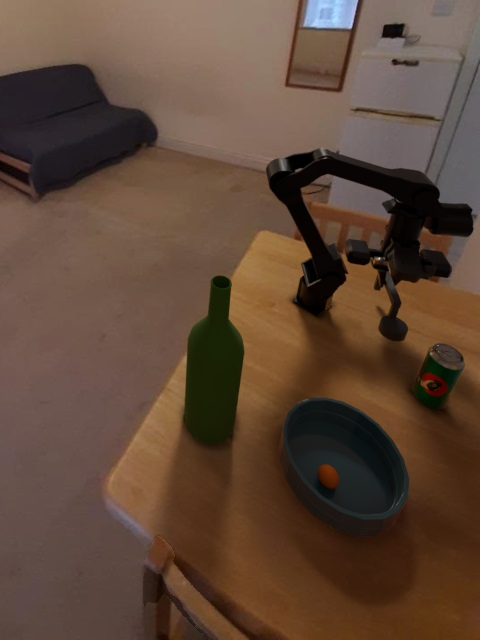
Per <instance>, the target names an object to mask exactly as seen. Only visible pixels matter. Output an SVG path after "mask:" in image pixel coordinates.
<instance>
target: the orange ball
mask: <svg viewBox="0 0 480 640" xmlns="http://www.w3.org/2000/svg"><path fill="white" fill-rule="evenodd" d="M317 475H318V479H319V481H320V482H321V484H322V485H323V486H325V487H326V488H329V489H334V488H336V487H337V486H338V484H339V476H338V473H337V472H336V470H335V469H334V468H333V467H332V466H330V465H327V464H323V465H321V466H320V467H319V468H318V471H317Z"/></svg>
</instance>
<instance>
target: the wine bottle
mask: <svg viewBox="0 0 480 640" xmlns="http://www.w3.org/2000/svg"><path fill="white" fill-rule="evenodd" d="M232 286H233V282H232V280H231V279H230V278H229V277H228V276H226V275H221V274H218V275H213V277H212V278H211V279H210V288H209V289H210V290H209V298H208V309H207V315H205V316H204V317H203V318H201V319H200V320H198V321H197V322H195V324H194V325H193V326H192V327H191V330H190V331H189V334H188V337H187V343H186V344H187V348H186V369H185V389H184V409H183V410H184V412H183V418H184V423H185V425H186V428H187V429H188V431H189V433H190V434H191V435H192V436H193V438H195V439H196V440H198V441H199V442H201V443H203V444H205V445H209V446H210V445H211V446H214V445H220V444H223V443H225V442H227V440H229V438H230V437H231V436H232V435H233V432H234V430H235V426H236V425H235V424H236V417H237V412H238V411H237V409H238V402H239V395H240V388H241V380H242V375H243V374H242V373H243V365H244V358H245V345H244V340H243V336H242V334H241V332H240V331H239V330H238V329H237V327H236V326H235V325H234V323H233V322H232V321H231V320H230V308H231V307H230V306H231V296H232Z"/></svg>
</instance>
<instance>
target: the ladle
mask: <svg viewBox="0 0 480 640" xmlns="http://www.w3.org/2000/svg"><path fill="white" fill-rule="evenodd" d="M384 288H385V291H386V293H387V296H388V300H389V301H390V304H391V305H390V308H389V310H388V313H387V315H383V316H382V317H380V320H379V324H378V326H377V327H378V329H377V330H378V332H379V334H381V336H382V337H384V338H385V339H387V340H388V341H392V342H395V343H400V342H403V341H405V339H406V337H407V334H408V331H409V327H408V325H407V323H406V322H405V321H404V320H403V319H401V318H399V317H398V313H399V310H400V309H401V306H402V304H403V303H402V300H401V297H400V296H399V292H398V290H397V288H396V286H395V285H394V282H393V280H392V277H391V274H390V270H389V271H388V272H387V274H386V278H385V283H384ZM381 289H382V288H381V287H380V284H379V279H378V273H377V274H376V278H375V281H374V284H373V290H374V291H381Z"/></svg>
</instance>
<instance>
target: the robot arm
mask: <svg viewBox="0 0 480 640" xmlns="http://www.w3.org/2000/svg"><path fill="white" fill-rule="evenodd" d="M265 175H266V178H267V183H268V188H269V190H270V191H271V193H272V194H273V195H274V197H276V199H277V200H278V201H279V202H280V203H281V204H283V206H284V207H286V209H287V211H288V212H289V214H290V217H291V218H292V220H293V222H294V224H295V226H296V228H297V230H298V231H299V234H300V236H301V238H302V240H303V241H304V244H305V246H306V247H307V249H308V251H309V254H310V257H309V258H307V259H306V260H304V261H302V262H300V266H301V270H302V274H303V275H302V276H300V278H299V281H298V286H297V291H296V295H295V296H294V297H293V298H292V300H291V301H292V302H294V304H296V305H298V306H300V307H301V308H303V309H304V310H306V311H307V312H309V313H310V314H312V315H313V316H315V317H318V316H320V315H321V314H322V313H325V312H326V311H327V310H328V309H329V308H330V307H331V305H332V303H333V302H332V300H333V296H334V293H336V291H337V290H339V288H340V287H341V286H343V285H344V284H345V283H346V282H347V275H348V274H349V271H348V269H347V266H346V263H345V262H344V259H343V256H342V254H341V253H340V252H339V250H338V248H337V245H336V243H335V242H334V243H330V244H328V243H327V242H326V241H325V239H324V237H323V235H322V233H321V231H320V229H319V227H318V226H317V223H316V221H315V219H314V217H313V214H312V213H311V211H310V209H309V207H308V205H307V203H306V201H305V198H304V197H303V192H302V188H303V189H304V188H306V187H308V186H309V185H310V184H312V183H314V182H315V181H317V180H318V179H320V177H323V176H327V175H330V176H332V177H336V178H339V179H342V180H346V181H349V182H352V183H355V184H359V185H362V186H365V187H369V188H372V189H374V190H377V191H381V192H383V193H385V194H387V195H389V196H390V197H392V198H391V199H388V200H384V201H383V202H382V203H381V205H382V207H383V208H384V210H385V211H386V213H387V214H389V215H390V217H389V220H388V223H387V224H385V226H384V230H385V233H384V237H383V239H380V248H376V247H369V245H368V242H367V241H366V240H361V239H354V238H348V239H347V240H345V241H344V245H343V250H344V253H345V258H346V260H347V261H346V262H348V263H349V264H352V265H358V266H367V265H369V264H371V267H372V269H374V270H376V271H377V272H376V273H377V274H378V279H379V284H380V287H381V289H383V288H384V287H385V285H384V283H385V278H386V274H387V272H388V271H389V272H390V275H391V277H392V280H393V282H394V285H395V287H396V286H397V285H398V284H400V283H401V282H402V281H403V282H409V283H411V284H417V283H418V282H419V281H420V280H421V279H422V280H426V281H428V280H430V279H432V278H433V277H436V278H443V279H449V278H450V277H451V275H452V272H453V266H452V265H451V263H450V261H449V260H448V258H447V256H446V254H445V253H444V252H443V251H442V250H441V251H440V250H434V249H426V248H422V249H421V243H420V242H421V241H420V237H421V234H422V231H423V229H426V230H428V232H429V233H430V234H431V235H434V236H445V237H456V238H470V236H471V235H472V234H473V233H474V229H475V228H474V219H473V215H472V213H473V210H474V209H473V208H472V207H471V206H470V204H468V203H462V202H461V203H460V202H459V203H452V202H451V203H449V202H440V200H439V199H440V197H441V191H440V189H439V188H438V187H437V185H436V184H435V183H434V182H433V180H431V179H430V178H429V177H428V176H427V175H426V174H425V173H424V172H423V171H421V170H417V169H410V168H403V167H397V168H388V167H385V166H384V167H383V166H380V165H377V164H373V163H371V162H367V161H364V160H360V159H357V158H354V157H351V156H348V155H344V154H341V153H338V152H334V151H331V150H330V149H328V148H325V147H319V148H315V149H313V150H309V151H306V152H300V153H293V154H290V155H288V156H285V157H278V158H274V159H272V160H271V161H269V162H268V163H267V165H266V167H265Z"/></svg>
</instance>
